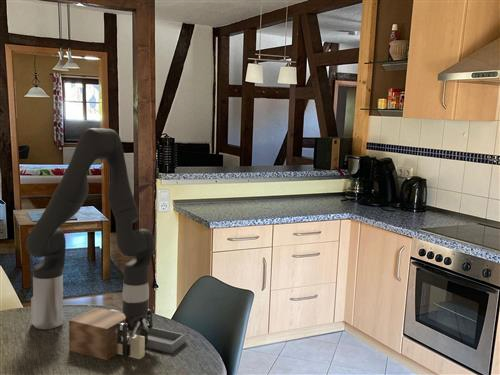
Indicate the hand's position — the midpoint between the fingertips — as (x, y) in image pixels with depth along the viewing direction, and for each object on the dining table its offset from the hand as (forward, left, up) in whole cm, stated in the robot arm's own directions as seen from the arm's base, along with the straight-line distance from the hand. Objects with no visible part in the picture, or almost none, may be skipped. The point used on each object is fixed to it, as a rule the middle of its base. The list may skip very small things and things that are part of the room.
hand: (135, 349), depth 145 cm
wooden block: (-13, 0, -2) cm, 13 cm away
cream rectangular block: (-4, 0, -2) cm, 4 cm away
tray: (0, +11, -2) cm, 11 cm away
